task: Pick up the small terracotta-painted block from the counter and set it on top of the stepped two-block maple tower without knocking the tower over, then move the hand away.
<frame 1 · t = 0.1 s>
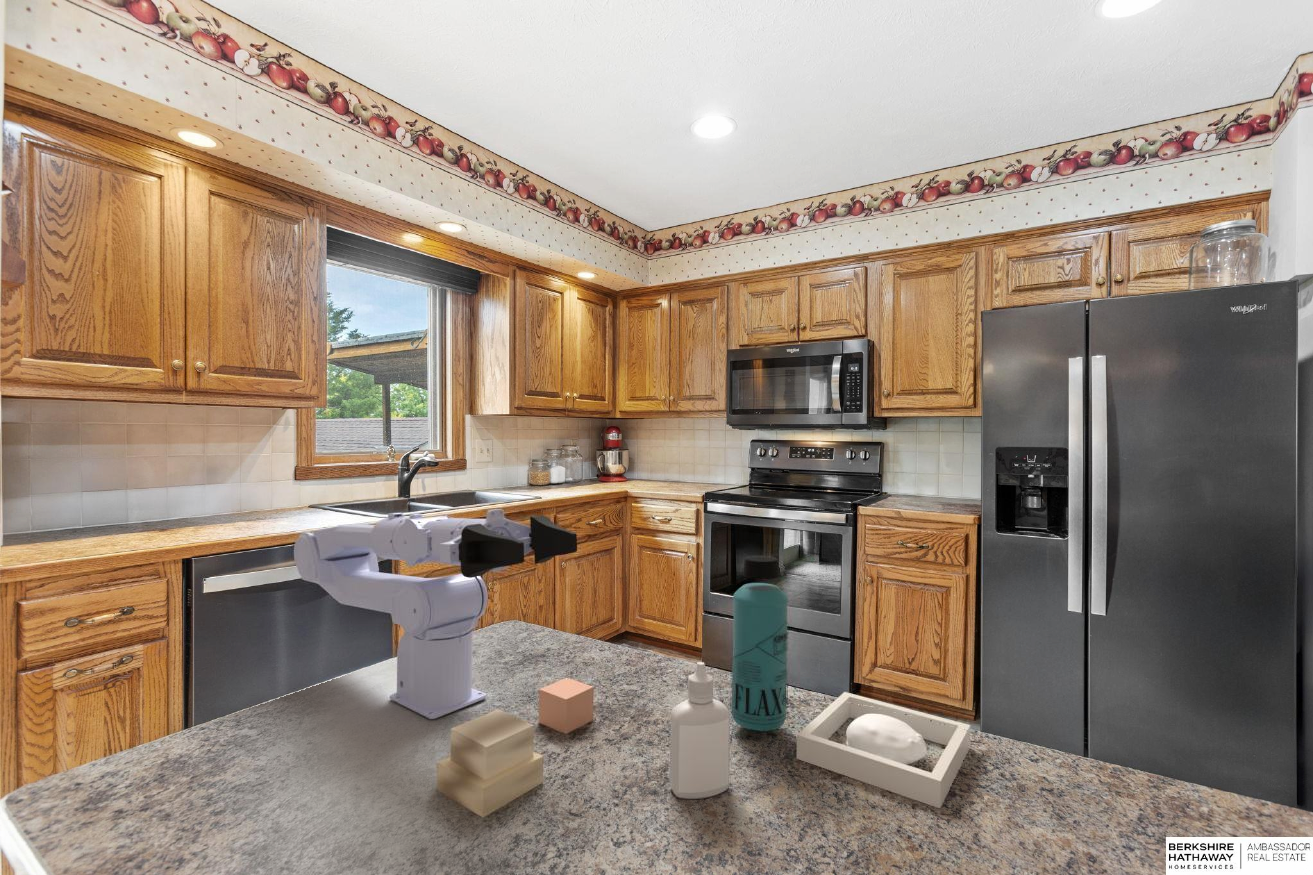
hand: (549, 547, 66), 22 cm above the table, tool horizontal, fingers open, 7 cm apart
eye dropper bottle: (699, 790, 58), on the table
tower base: (490, 790, 59), on the table, touching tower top
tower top: (492, 757, 59), point 3 cm above the table, touching tower base
white rounded lump: (886, 758, 65), resting in garlic dish
terracotta block: (566, 721, 72), on the table
beverage bottle: (758, 732, 70), on the table
garlic dish: (885, 753, 66), on the table
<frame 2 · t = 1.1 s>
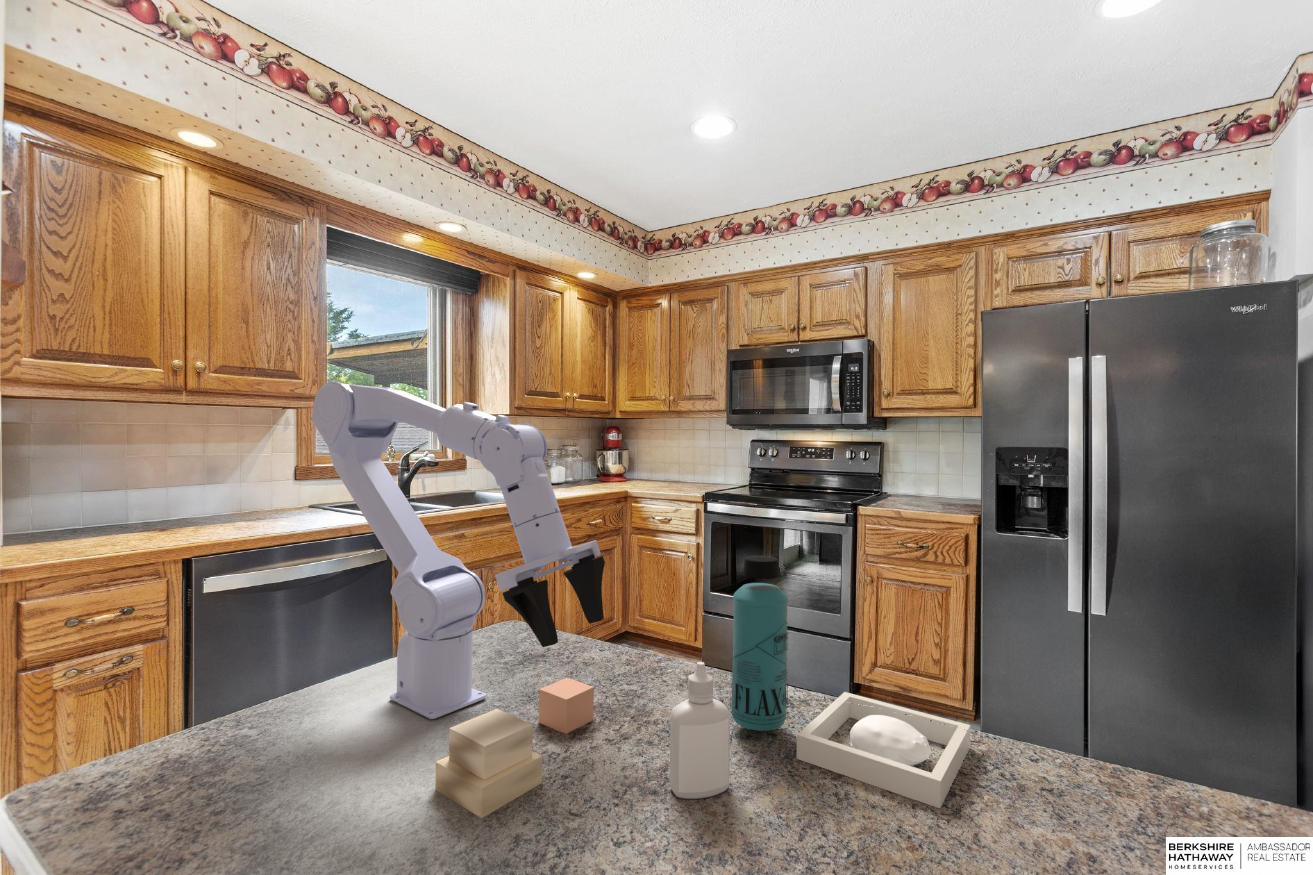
hand: (574, 632, 70), 11 cm above the table, tool tilted 20°, fingers open, 7 cm apart
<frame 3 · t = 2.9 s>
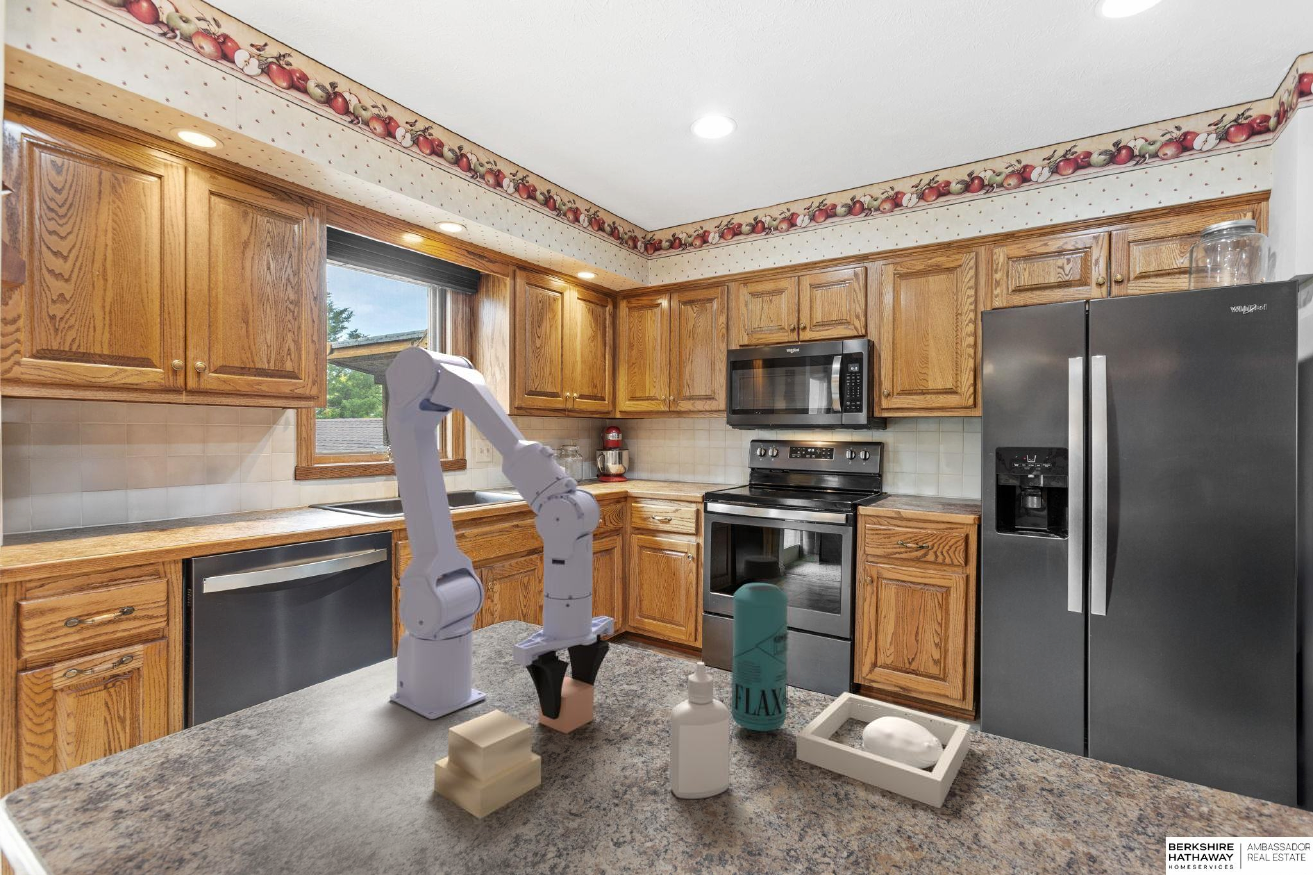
hand: (566, 708, 72), 1 cm above the table, tool pointing down, fingers closed on terracotta block, 4 cm apart
white rounded lump: (903, 762, 65), resting in garlic dish
terracotta block: (566, 720, 72), on the table, touching gripper
everything else where it was.
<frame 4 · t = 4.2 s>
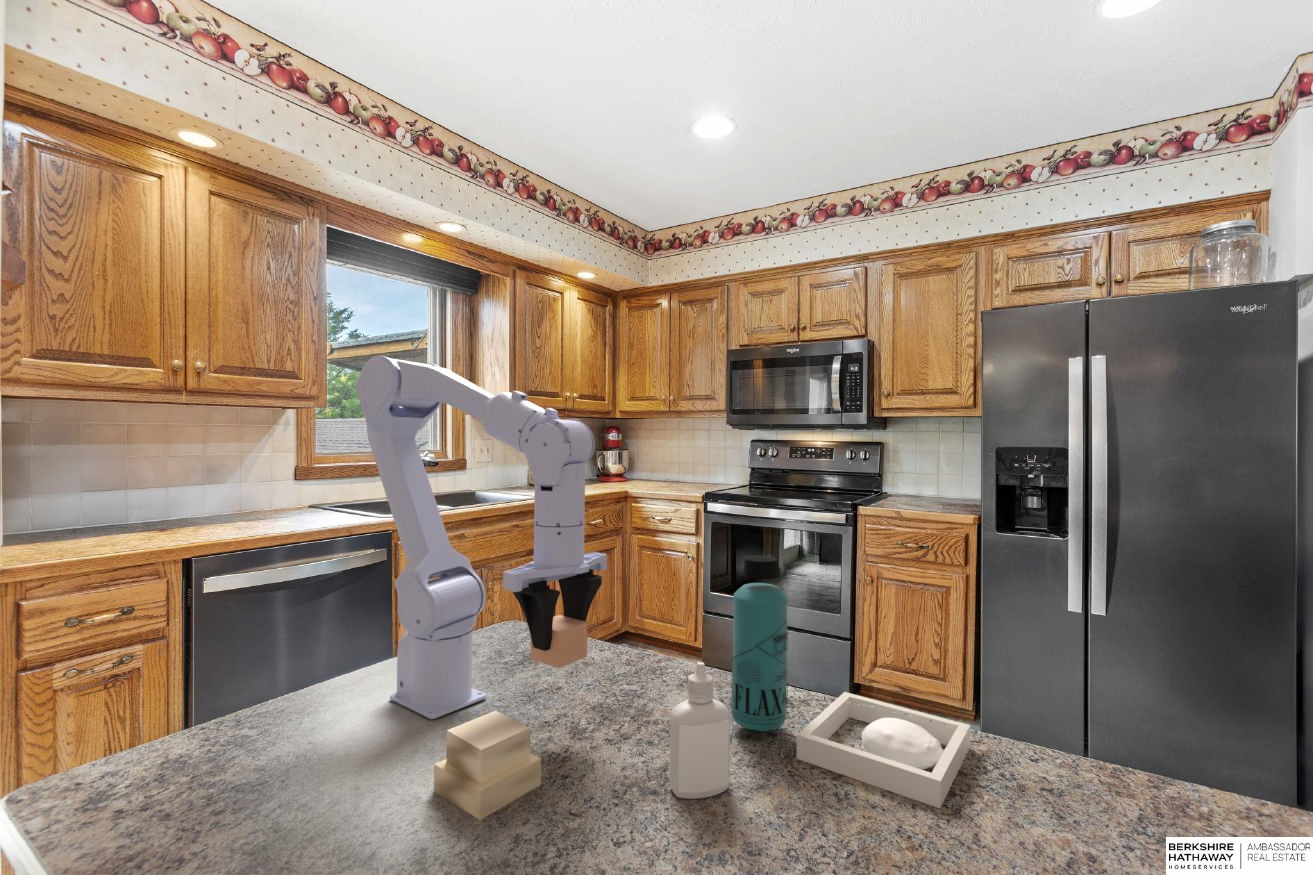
hand: (557, 642, 70), 10 cm above the table, tool pointing down, fingers closed on terracotta block, 4 cm apart
white rounded lump: (902, 763, 64), resting in garlic dish
terracotta block: (558, 657, 70), point 8 cm above the table, touching gripper
everything else where it was.
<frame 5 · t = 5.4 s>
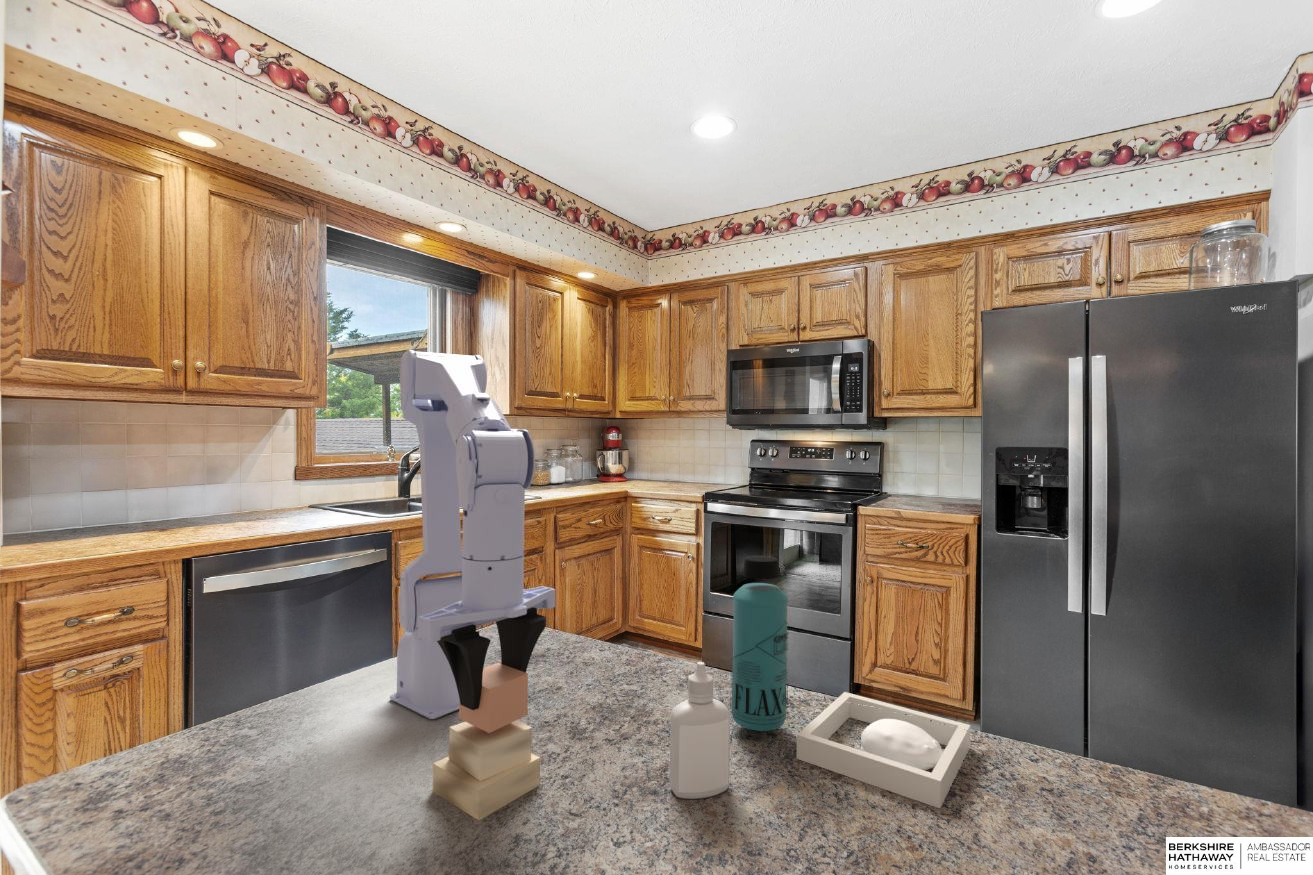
hand: (491, 697, 59), 8 cm above the table, tool pointing down, fingers closed on terracotta block, 4 cm apart
terracotta block: (493, 716, 58), point 7 cm above the table, touching gripper
everything else where it was.
when the fingers open (8 cm above the table, at t = 5.7 s): terracotta block drops 1 cm, resting on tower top.
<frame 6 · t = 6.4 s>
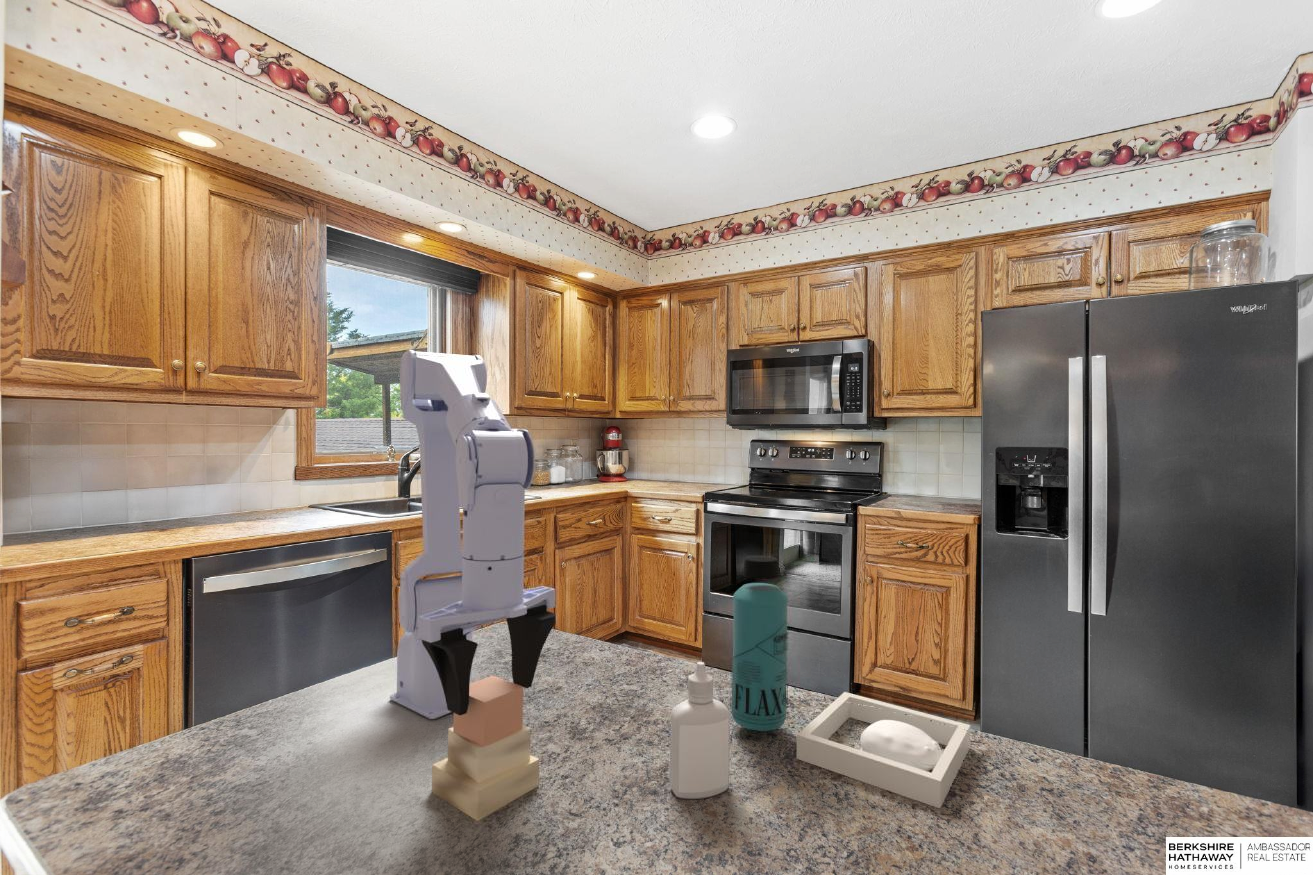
hand: (491, 697, 59), 8 cm above the table, tool pointing down, fingers open, 7 cm apart
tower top: (488, 760, 58), point 2 cm above the table, touching terracotta block, tower base
terracotta block: (488, 730, 58), point 6 cm above the table, touching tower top
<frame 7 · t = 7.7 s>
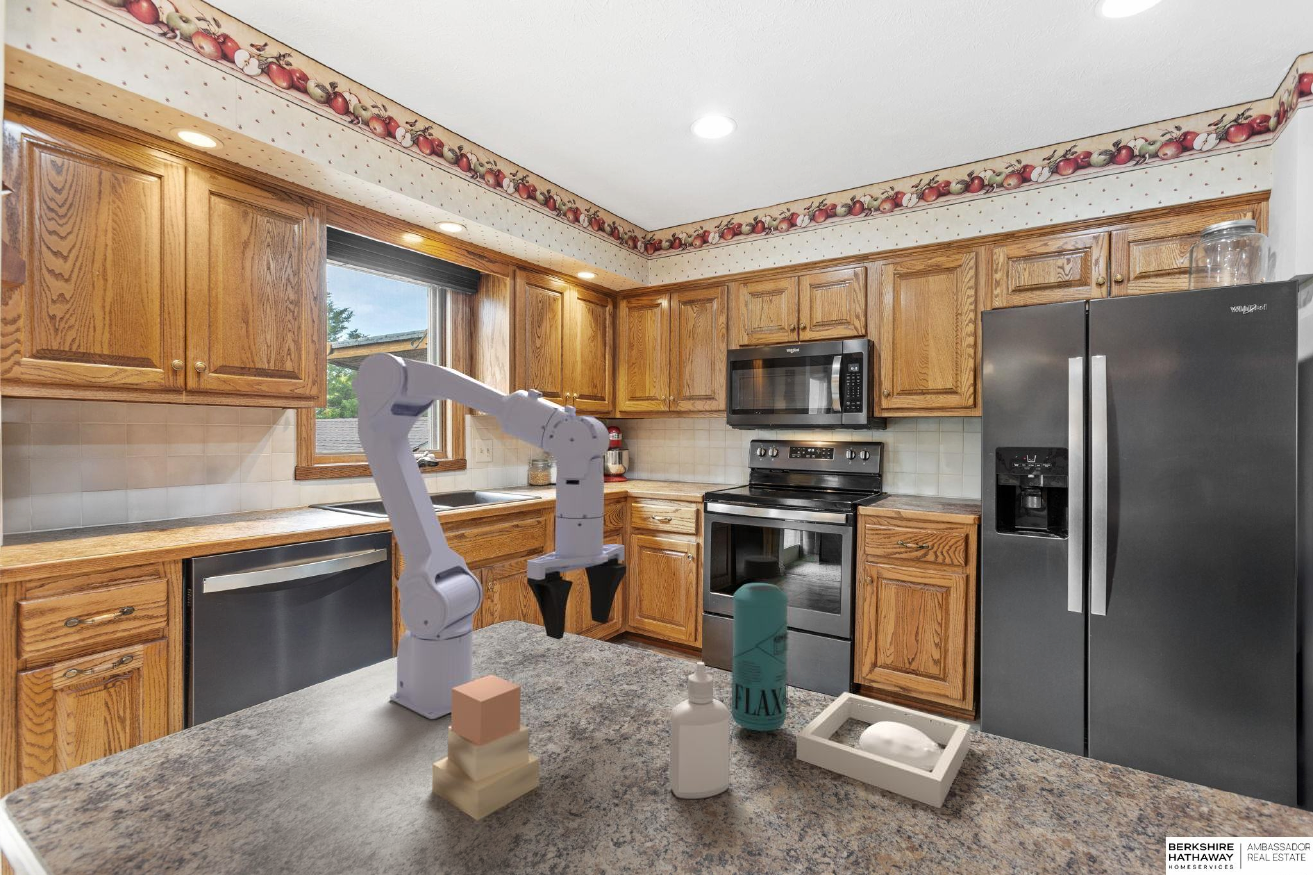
hand: (578, 629, 73), 10 cm above the table, tool pointing down, fingers open, 7 cm apart
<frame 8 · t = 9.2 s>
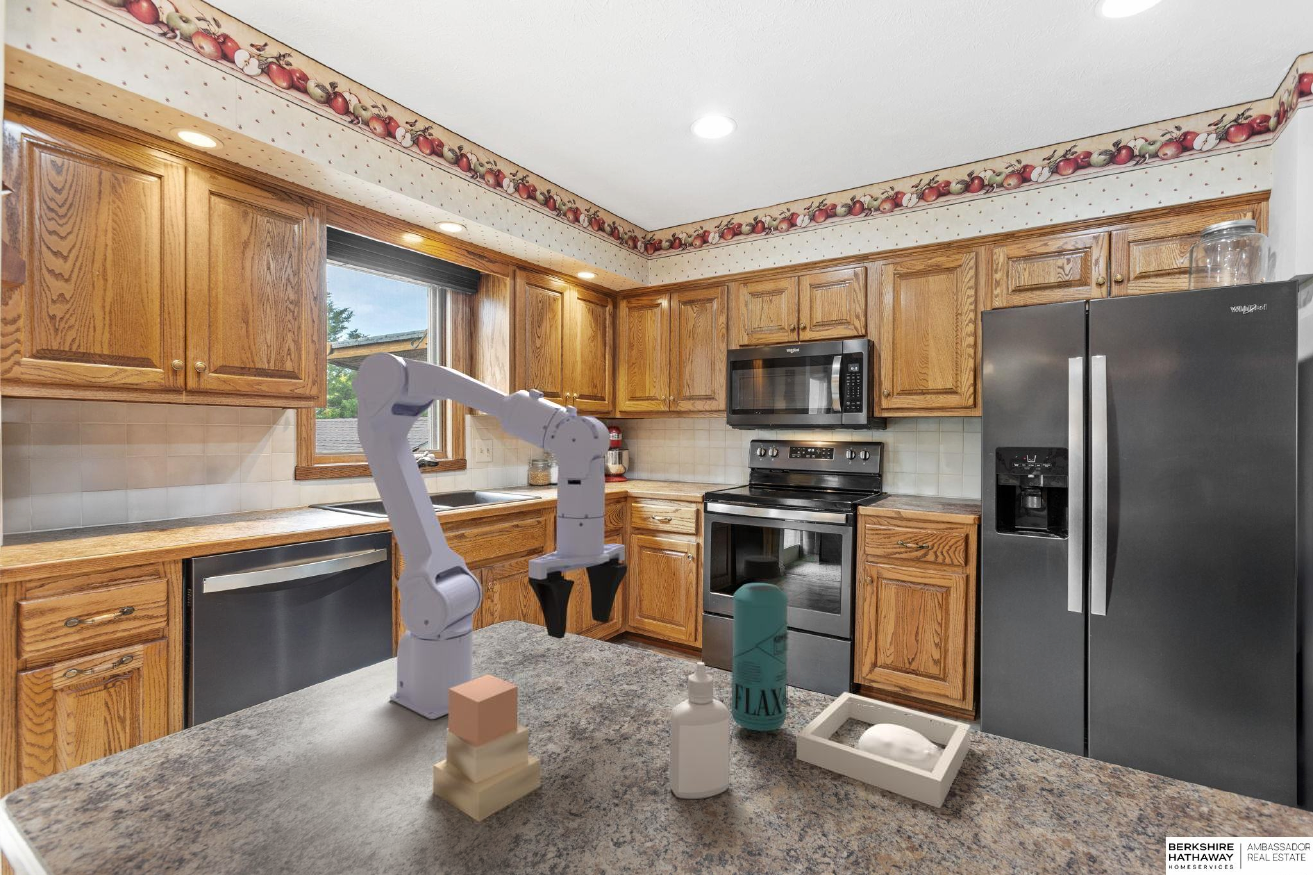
hand: (579, 628, 74), 10 cm above the table, tool pointing down, fingers open, 7 cm apart
at the end: terracotta block 0.4 cm off-centre on the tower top, point 3.0 cm above the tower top's base; terracotta block tilted 1°; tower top 0.4 cm off-centre on the tower base, point 3.0 cm above the tower base's base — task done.
